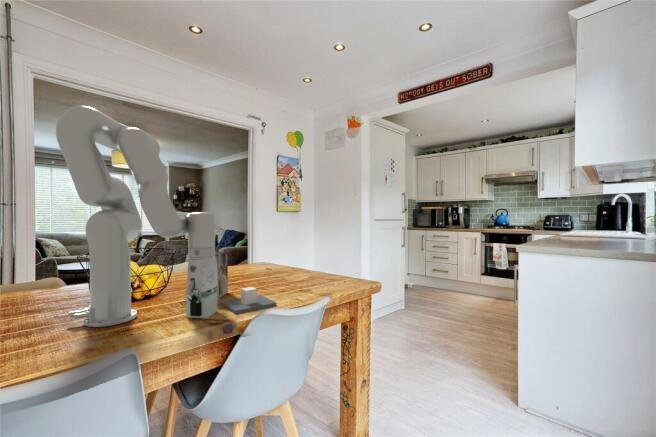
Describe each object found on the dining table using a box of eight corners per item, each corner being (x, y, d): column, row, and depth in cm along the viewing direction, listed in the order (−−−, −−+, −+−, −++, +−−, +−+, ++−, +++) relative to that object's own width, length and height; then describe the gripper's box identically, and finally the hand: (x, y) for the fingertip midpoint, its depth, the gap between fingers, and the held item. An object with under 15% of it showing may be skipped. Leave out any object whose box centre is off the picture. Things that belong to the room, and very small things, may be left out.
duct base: (235, 314, 92) (235, 296, 92) (221, 304, 102) (221, 288, 102) (276, 305, 101) (276, 289, 101) (260, 297, 111) (260, 282, 110)
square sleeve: (206, 318, 89) (206, 297, 89) (186, 317, 90) (186, 297, 89) (217, 311, 95) (217, 292, 95) (198, 310, 96) (198, 291, 96)
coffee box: (212, 292, 118) (211, 251, 118) (228, 292, 118) (228, 251, 118) (201, 299, 109) (201, 254, 109) (219, 299, 109) (219, 254, 109)
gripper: (197, 257, 83) (198, 322, 83) (226, 249, 100) (227, 303, 100) (172, 256, 84) (172, 321, 84) (205, 249, 101) (205, 303, 101)
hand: (202, 311), depth 92 cm, fingers closed on square sleeve, 6 cm apart
